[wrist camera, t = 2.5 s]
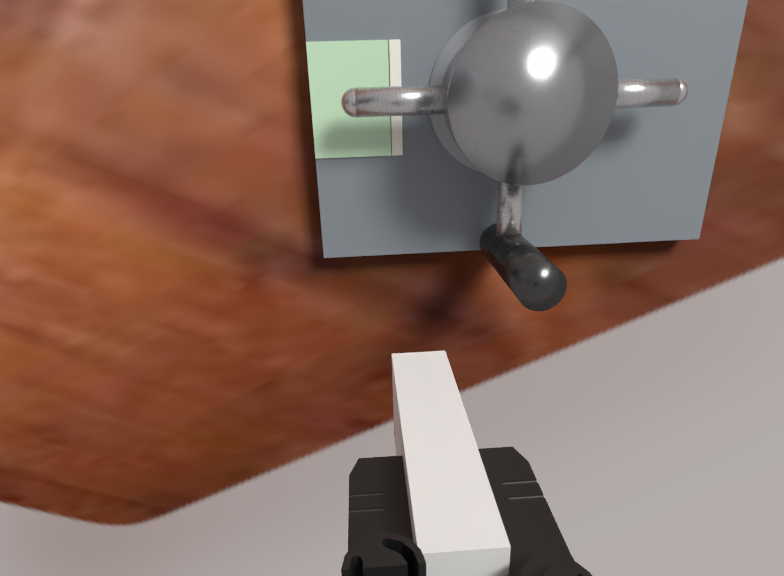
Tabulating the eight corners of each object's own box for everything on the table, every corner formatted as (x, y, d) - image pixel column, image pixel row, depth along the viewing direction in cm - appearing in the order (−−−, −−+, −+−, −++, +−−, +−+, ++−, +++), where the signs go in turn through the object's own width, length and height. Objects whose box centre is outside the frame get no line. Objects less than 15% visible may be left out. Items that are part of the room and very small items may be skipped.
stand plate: (324, 250, 27) (323, 258, 26) (301, -32, 23) (299, -39, 21) (685, 232, 29) (700, 239, 27) (738, -40, 24) (758, -46, 23)
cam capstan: (351, 266, 26) (352, 322, 20) (327, -138, 20) (317, -232, 14) (637, 251, 27) (719, 300, 21) (699, -139, 21) (841, -229, 15)
